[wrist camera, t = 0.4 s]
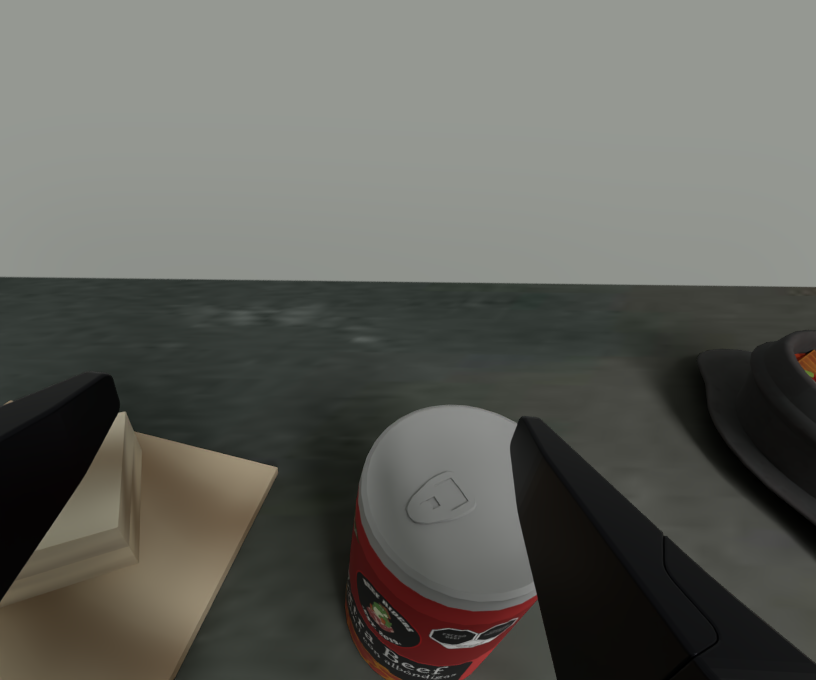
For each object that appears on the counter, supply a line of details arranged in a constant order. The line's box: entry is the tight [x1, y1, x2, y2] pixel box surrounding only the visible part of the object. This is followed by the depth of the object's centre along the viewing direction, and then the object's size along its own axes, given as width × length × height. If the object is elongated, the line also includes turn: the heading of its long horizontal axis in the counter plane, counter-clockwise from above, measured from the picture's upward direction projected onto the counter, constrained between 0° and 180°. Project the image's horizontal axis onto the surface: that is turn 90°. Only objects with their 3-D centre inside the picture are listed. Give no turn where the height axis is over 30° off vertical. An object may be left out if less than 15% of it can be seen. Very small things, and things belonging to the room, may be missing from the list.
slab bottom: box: [0, 433, 142, 608], centre depth 21 cm, size 7×7×2 cm
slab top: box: [15, 411, 134, 581], centre depth 20 cm, size 7×7×2 cm
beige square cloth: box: [0, 400, 278, 680], centre depth 19 cm, size 18×18×1 cm
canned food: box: [345, 405, 538, 680], centre depth 18 cm, size 8×8×11 cm
